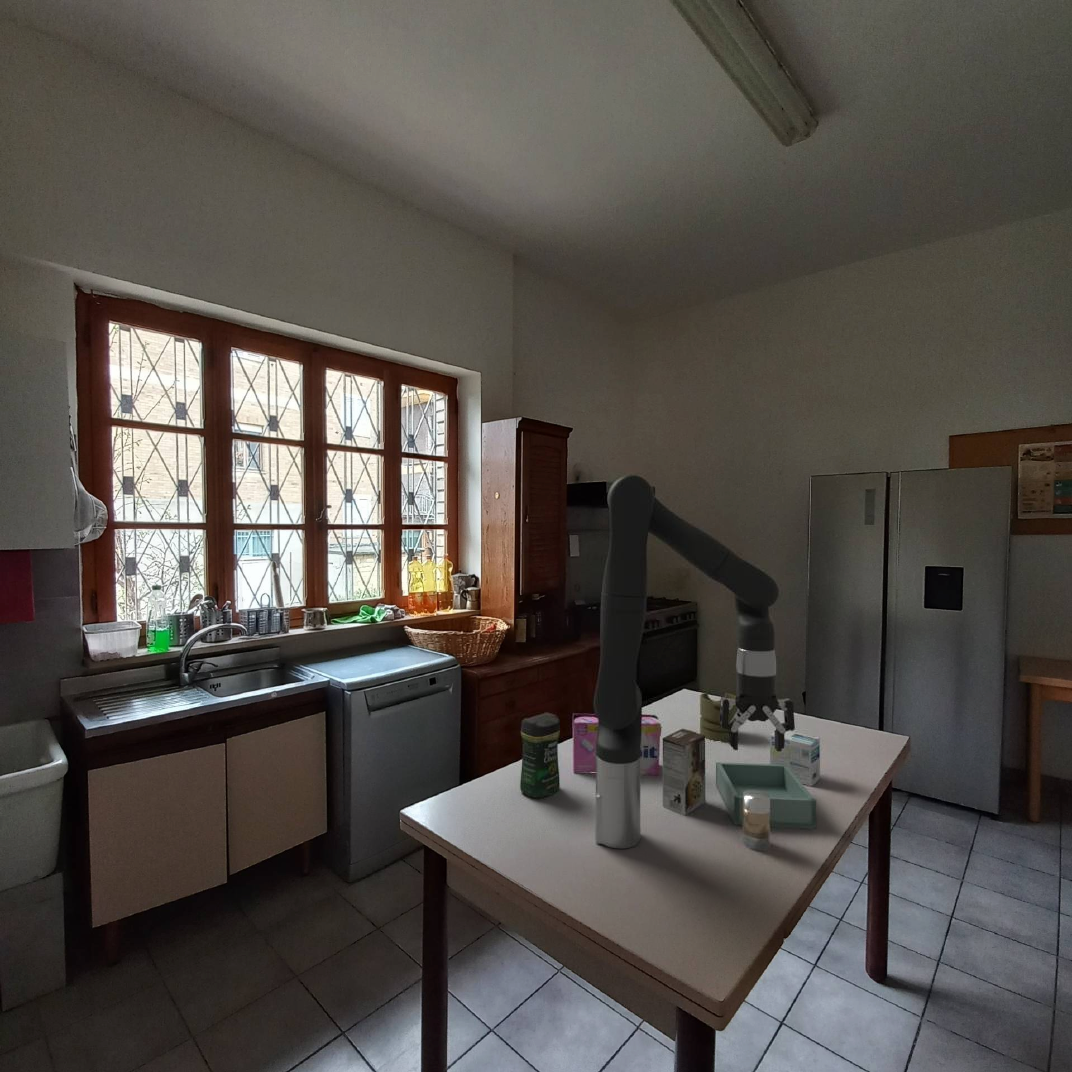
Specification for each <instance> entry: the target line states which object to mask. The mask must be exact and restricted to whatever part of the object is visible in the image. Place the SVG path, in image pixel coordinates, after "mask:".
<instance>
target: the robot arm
mask: <svg viewBox="0 0 1072 1072" xmlns="http://www.w3.org/2000/svg"><path fill="white" fill-rule="evenodd" d="M606 499H607V506H608V508H609V519H610V522H609V523H610V524H609V525H610V526H609V527H610V528H609V529H610V531H609V532H610V537H609V538H610V539H609V549H608V554H607V558H606V563H605V566H604V567H605V568H604V573H603V579H602V586H601V599H600V620H599V621H600V622H599V624H600V627H599V628H600V631H599V634H600V636H599V638H600V644H599V645H600V659H599V667H598V668H599V669H598V676H597V681H596V687H595V692H594V696H593V697H594V698H593V710H594V714H596V716H597V718H598V733H597V739H596V773H595V843H596V844H602V845H603V846H606V847H608V848H612V849H613V848H614V849H629V848H632V847H635V846H636V845H638V844H640V840H641V830H642V829H641V828H642V827H641V774H640V749H641V736H642V714H643V701H642V699H643V697H642V692H641V689H640V688H639V685H638V684H637V664H638V655H639V651H640V647H641V642H642V639H643V638H642V637H643V633H644V628H645V622H646V616H647V615H646V614H647V599H648V555H647V554H648V553H647V552H648V551H647V549H648V547H647V546H648V537H649V534H651V535H652V536H654V537H655V538H657V539H658V540H660V541H661V542H663V544H665V545H666V546H668V547H669V548H671V549H672V550H673V551H674V552H675V553H677V554H678V555H679V556H680V557H681V558H683V559H684V560H685V561H686V562H688V563H689V564H691V565H692V566H693V567H694V568H696V569H697V570H699V571H700V572H701V573H703V574H704V575H706V576H707V577H708V578H710V579H711V580H713V581H714V582H717V583H719V584H721V585H722V586H724V587H725V588H727V589H728V590H729V591H731V592H732V593H733V597H734V608H735V612H736V618H737V619H736V620H737V654H736V663H735V668H736V695H735V696H736V698H735V699H729V698H726V697H725V695H723V696H721V697H720V700H721V702H720V719H719V723H720V725H721V726H722V728H723V729H728V730H729V742H728V744H729V746H730V747H731V748H732V749H733V751H738V750H739V729H740V728H741V726H743V725H744V724H745V723H746V722H747V721H749V722H756V721H760V722H767V721H768V720H769V721H770V722H771V723H772V725H773V726H774V727H775V729H774V732H775V749H776V750H777V751H779V752H781V751H782V749H784V746H785V744H784V743H785V742H784V741H785V737H784V735H785V732H786V731H790V732H794V731H795V729H796V726H795V723H796V722H795V711H794V710H795V709H794V702H793V701H792V700H791V699H790V698H788V697H784V698H783V699H778V698H777V658H776V650H775V647H776V645H775V640H776V639H775V635H776V634H775V633H776V632H775V626H774V624H773V622H772V620H771V619H770V610H769V607H770V608H771V606H773V605H774V604H775V603H777V600H778V598H779V596H780V595H779V594H780V593H779V591H780V590H779V586H778V584H777V582H776V581H775V580H774V579H773V577H772V576H770V574H768V573H766V572H764V571H763V570H761V569H760V568H758V567H757V566H755V565H754V564H751V563H750V562H749V561H746V560H745V559H743V558H742V557H740V556H739V555H737V553H735V552H734V551H733V550H732V549H730V548H729V547H727V546H726V545H724V544H723V543H722V542H720V540H718V539H716V538H714V537H713V536H711V535H710V534H709V533H707V532H706V531H704V530H702V529H700V528H699V527H697V526H695V525H693V524H692V523H690V522H688V521H687V520H685V519H683V518H682V517H680V516H678V515H677V514H676V513H675V512H673V511H671V509H669V508H668V507H666V506H665V505H664V504H663V503H662V502H661V501H660V500H659V499H658V498H657V497H656V496H655V493H654V489H653V488H652V486H651V484H650V483H649V481H648V480H646V479H645V478H644V477H642V476H640V475H635V474H628V475H624V476H622V477H620V478H618V479H616V481H614V482H613V483H612V485H611V486H610V487H609V490H608V493H607V496H606ZM733 705H736V706H737V708H738V711H737V712H736V714H735V715H734V718H733V719H732V720H731V722H728V717H729V710H731V709H732V706H733ZM779 706H780V708H781V710H782V711H783V719H784V721H783V723H781V722H780V721H779V719H778V718H777V717H776V715H775V714H774V713H775V712H776V710H777V709H778V708H779ZM737 730H738V732H737Z"/></svg>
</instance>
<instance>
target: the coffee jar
mask: <svg viewBox="0 0 1072 1072" xmlns="http://www.w3.org/2000/svg"><path fill="white" fill-rule="evenodd" d="M560 723H561V722H560V719H559V717H558V715H556V714H553V713H550V712H544V713H541V714H538V715H534V716H532V717H527V718H523V720H522V721H521V728H520V735H521V738H522V757H521V758H522V760H521V771H520V781H519V782H520V784H519V788H520V789H519V790H520V791H521V792H522V793H523V794H524V795H526V796H527V795H528V797H530V796H531V797H532V798H537V799H538V798H540V797H541V798H544V797H546V796H549V794H550V795H551V794H554V793H556V792H558V790H560V788H561V787H560V786H561V785H560V783H561V782H560V779H561V778H560V767H559V754H558V753H559V751H558V742H559V738H560V732H561V727H560V725H561V724H560Z"/></svg>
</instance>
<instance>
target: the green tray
mask: <svg viewBox="0 0 1072 1072" xmlns="http://www.w3.org/2000/svg"><path fill="white" fill-rule="evenodd" d="M715 786H716V789H717V791H718V793H719V796H720V797H721V800H722V801H723V803H724V805H725V807H726V810H727V812H728V814H729V816H730V818H731V821H732V823H733V824H734V826H742V819H743V792H744V791H746V790H758V791H762V792H765V793H766V794H768V795H769V796H770V827H774V828H775V827H777V828H778V827H779V828H796V829H801V828H802V829H817V799H815V798H814V796H813V795H812V793H810V792H809V790H808V789H807V788H806V787H805V784H802V783H801V782H800V781H799V779H798V778H797V777H796V776H795V775H794V773H793V772H792V771H791V770H790V768H789V767H788V766H787V765H776V764H770V763H769V764H768V763H748V762H747V763H746V762H745V763H741V762H740V763H739V762H717V761H716V762H715ZM797 827H798V828H797Z"/></svg>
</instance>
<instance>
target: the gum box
mask: <svg viewBox="0 0 1072 1072" xmlns="http://www.w3.org/2000/svg"><path fill="white" fill-rule="evenodd" d="M662 728H663V726H662V725H661V721H660V720H659V717H658V715H656V714H643V713H642V736H641V749H640V775H648V774H650V775H655V776H657V775H658V776H659V775H660V751H661V749H660V747H661V746H660V744H661V743H660V742H661V740H660V739H661V736H662V735H661V734H662ZM597 733H598V718H597V716H596V713H572V761H573V762H572V764H573V765H572V768H573V770H572V771H574V772H596V739H597Z"/></svg>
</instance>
